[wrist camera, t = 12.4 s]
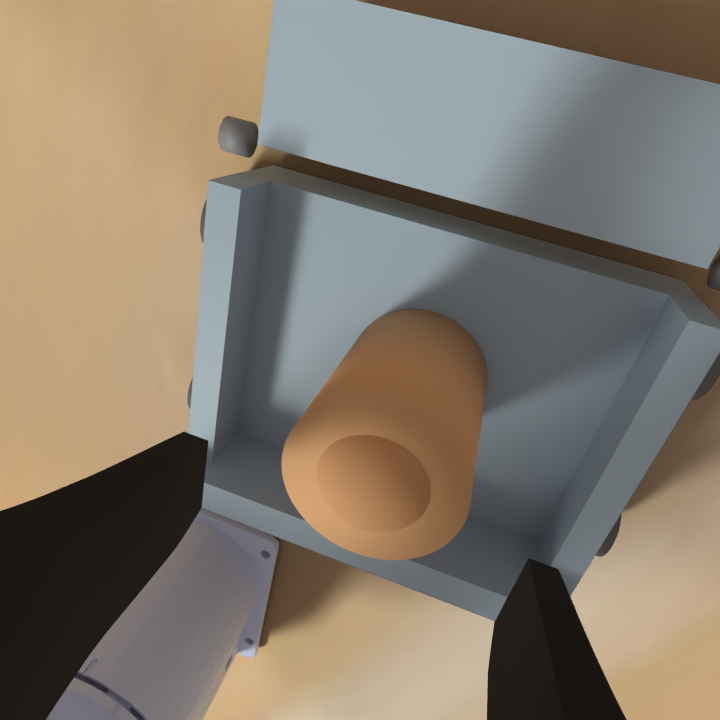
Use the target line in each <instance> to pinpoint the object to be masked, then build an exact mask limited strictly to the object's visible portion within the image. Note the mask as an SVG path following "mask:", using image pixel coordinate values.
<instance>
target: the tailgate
mask: <svg viewBox="0 0 720 720" xmlns="http://www.w3.org/2000/svg"><path fill="white" fill-rule="evenodd" d="M257 145H261V146H264V147H268V148H272V149H275V150H279V151H282V152H286V153H290V154H293V155H297V156H300V157H304V158H308V159H311V160H315V161H318V162H322V163H326V164H329V165H333V166H336V167H340V168H344V169H347V170H351V171H355V172H358V173H362V174H365V175H369V176H373V177H376V178H380V179H383V180H387V181H391V182H394V183H398V184H401V185H405V186H409V187H412V188H416V189H419V190H423V191H427V192H430V193H434V194H438V195H441V196H445V197H448V198H452V199H456V200H459V201H463V202H466V203H470V204H474V205H477V206H481V207H484V208H488V209H492V210H495V211H499V212H502V213H506V214H510V215H513V216H517V217H521V218H524V219H528V220H531V221H535V222H539V223H542V224H546V225H549V226H553V227H557V228H560V229H564V230H567V231H571V232H575V233H578V234H582V235H585V236H589V237H593V238H596V239H600V240H603V241H607V242H611V243H614V244H618V245H622V246H625V247H629V248H632V249H636V250H640V251H643V252H647V253H650V254H654V255H658V256H661V257H665V258H668V259H672V260H676V261H679V262H683V263H686V264H690V265H694V266H697V267H701V268H705V269H708V267H709V266H710V264H711V262H712V260H713V258H714V256H715V255H716V253H717V251H718V249H719V247H720V84H717V83H712V82H708V81H704V80H699V79H695V78H691V77H686V76H682V75H678V74H673V73H669V72H665V71H660V70H656V69H652V68H647V67H643V66H639V65H634V64H630V63H625V62H621V61H617V60H612V59H608V58H604V57H599V56H595V55H591V54H586V53H582V52H578V51H573V50H569V49H565V48H560V47H556V46H552V45H547V44H543V43H539V42H534V41H530V40H525V39H521V38H517V37H512V36H508V35H504V34H499V33H495V32H491V31H486V30H482V29H478V28H473V27H469V26H465V25H460V24H456V23H452V22H447V21H443V20H439V19H434V18H430V17H425V16H421V15H417V14H412V13H408V12H404V11H399V10H395V9H391V8H386V7H382V6H378V5H373V4H369V3H365V2H360V1H356V0H274V5H273V14H272V22H271V31H270V39H269V48H268V57H267V65H266V74H265V83H264V91H263V100H262V108H261V117H260V126H259V134H258V143H257Z"/></svg>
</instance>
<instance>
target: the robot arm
mask: <svg viewBox="0 0 720 720" xmlns="http://www.w3.org/2000/svg"><path fill="white" fill-rule="evenodd" d="M207 450H208V440H205V439H203V438H200V437H197V436H194V435H192V434H189V433H186V432H182V433H180V434H178V435H176V436H174V437H172V438H169V439H167V440H165V441H163V442H161V443H159V444H157V445H155V446H153V447H151V448H149V449H147V450H145V451H143V452H141V453H138V454H136V455H134V456H132V457H130V458H128V459H126V460H124V461H122V462H120V463H118V464H115V465H113V466H111V467H109V468H107V469H105V470H102V471H100V472H98V473H96V474H94V475H92V476H89V477H87V478H85V479H82V480H80V481H77V482H75V483H73V484H70V485H68V486H66V487H63V488H61V489H58V490H56V491H54V492H51V493H49V494H46V495H44V496H41V497H39V498H36V499H33V500H31V501H28V502H25V503H23V504H20V505H17V506H14V507H11V508H8V509H5V510H2V511H0V720H202V719H203V718H204V716H205V714H206V712H207V710H208V708H209V706H210V704H211V702H212V700H213V698H214V696H215V695H216V693H217V691H218V689H219V687H220V685H221V683H222V681H223V679H224V677H225V675H226V673H227V671H228V670H229V668H230V666H231V664H232V662H233V660H234V658H235V656H236V654H237V653H239V654H241V655H243V656H246V657H249V658H252V657H254V656H255V655H256V653H257V651H258V647H259V642H260V637H261V632H262V627H263V623H264V618H265V613H266V608H267V603H268V598H269V593H270V588H271V583H272V579H273V574H274V569H275V564H276V559H277V554H278V549H279V542H278V540H277V539H276V538H275V537H273V536H271V535H269V534H266V533H264V532H261V531H258V530H256V529H253V528H251V527H248V526H245V525H243V524H240V523H238V522H235V521H233V520H230V519H227V518H225V517H222V516H220V515H217V514H214V513H212V512H209V511H207V510H204V509H201V508H202V499H203V489H204V480H205V470H206V460H207ZM266 551H267V552H266ZM268 552H269V553H268ZM487 720H626V718H625V716H624V714H623V712H622V710H621V708H620V706H619V704H618V702H617V700H616V698H615V696H614V694H613V692H612V690H611V688H610V686H609V684H608V681H607V679H606V677H605V675H604V673H603V671H602V669H601V666H600V664H599V662H598V660H597V658H596V656H595V654H594V651H593V649H592V647H591V645H590V642H589V640H588V638H587V635H586V633H585V631H584V628H583V626H582V624H581V621H580V619H579V617H578V614H577V612H576V610H575V607H574V605H573V602H572V600H571V597H570V595H569V593H568V590H567V588H566V585H565V583H564V580H563V578H562V576H561V573H560V571H559V569H557V568H554V567H551V566H549V565H546V564H543V563H541V562H538V561H535V560H532V559H530V558H528V560H527V562H526V564H525V565H524V567H523V569H522V571H521V573H520V575H519V577H518V579H517V581H516V582H515V584H514V586H513V588H512V590H511V592H510V594H509V596H508V597H507V599H506V601H505V603H504V605H503V607H502V609H501V611H500V613H499V614H498V616H497V618H496V620H495V623H494V630H493V637H492V645H491V652H490V660H489V669H488V699H487Z"/></svg>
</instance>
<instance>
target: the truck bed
mask: <svg viewBox="0 0 720 720" xmlns="http://www.w3.org/2000/svg"><path fill="white" fill-rule="evenodd" d="M218 139H219V145H220V148H221V149H222V150H223V151H226V152H230V153H233V154H237V155H241V156H244V157H248V158H249V157H251V156H252V155H253V154H254V152H255V150H256V147H257V143H258V128H257V125H256V124H255V123H253V122H249V121H246V120H242V119H238V118H235V117H231V116H227V117H225V118H224V119H223V121H222V123H221V125H220V129H219V136H218ZM200 232H201V239H202V242H203V254H202V267H201V280H200V292H199V305H198V318H197V331H196V344H195V357H194V369H193V378H192V381H191V384H190V387H189V391H188V406H189V408H190V421H189V434H192V435H194V436H197V437H200V438H203V439H205V440H208V450H207V460H206V470H205V480H204V489H203V499H202V508H203V509H206V510H208V511H211V512H213V513H216V514H218V515H221V516H224V517H226V518H229V519H231V520H234V521H237V522H239V523H242V524H244V525H247V526H250V527H252V528H255V529H257V530H260V531H263V532H265V533H268V534H270V535H273V536H275V537H278V538H281V539H283V540H286V541H288V542H291V543H294V544H296V545H299V546H301V547H304V548H307V549H309V550H312V551H314V552H317V553H320V554H322V555H325V556H327V557H330V558H332V559H335V560H338V561H340V562H343V563H345V564H348V565H351V566H353V567H356V568H358V569H361V570H364V571H366V572H369V573H371V574H374V575H377V576H379V577H382V578H384V579H387V580H389V581H392V582H395V583H397V584H400V585H402V586H405V587H408V588H410V589H413V590H415V591H418V592H421V593H423V594H426V595H428V596H431V597H434V598H436V599H439V600H441V601H444V602H446V603H449V604H452V605H454V606H457V607H459V608H462V609H465V610H467V611H470V612H472V613H475V614H478V615H480V616H483V617H485V618H488V619H491V620H493V621H495V620H496V618H497V616H498V614H499V613H500V611H501V609H502V607H503V605H504V603H505V601H506V599H507V597H508V596H509V594H510V592H511V590H512V588H513V586H514V584H515V582H516V581H517V579H518V577H519V575H520V573H521V571H522V569H523V567H524V565H525V564H526V562H527V560H528V558H530V559H532V560H535V561H538V562H541V563H543V564H546V565H549V566H551V567H554V568H557V569H559V571H560V573H561V576H562V578H563V580H564V583H565V585H566V588H567V590H568V593H569V595H570V596H571V594H572V593H573V591H574V589H575V588H576V586H577V584H578V583H579V581H580V579H581V578H582V576H583V575H584V573H585V571H586V570H587V568H588V566H589V565H590V563H591V562H592V560H593V558H594V557H595V555H596V556H599V557H602V556H604V555H605V554H606V553H607V552H608V551H609V550H610V549H611V547H612V545H613V543H614V541H615V539H616V537H617V534H618V530H619V527H620V522H621V514H622V511H623V509H624V508H625V506H626V504H627V503H628V501H629V500H630V498H631V496H632V495H633V493H634V491H635V490H636V488H637V487H638V485H639V483H640V482H641V480H642V478H643V477H644V475H645V473H646V472H647V470H648V469H649V467H650V465H651V464H652V462H653V460H654V459H655V457H656V456H657V454H658V452H659V451H660V449H661V447H662V446H663V444H664V442H665V441H666V439H667V438H668V436H669V434H670V433H671V431H672V429H673V428H674V426H675V425H676V423H677V421H678V420H679V418H680V416H681V415H682V413H683V412H684V410H685V408H686V407H687V405H688V403H689V402H690V400H695V399H698V398H700V397H702V396H703V395H704V394H705V393H706V392H707V391H708V390H709V389H710V388H711V387H712V386H713V384H714V383H715V381H716V380H717V378H718V376H719V374H720V320H719V319H718V317H717V316H716V315H715V314H714V313H713V312H712V311H711V310H710V309H709V308H708V307H707V306H706V305H705V304H704V303H703V302H702V300H701V299H700V298H699V297H698V296H697V295H696V294H695V293H694V292H693V291H692V290H691V289H690V288H689V287H688V286H687V284H686V283H685V282H684V281H683V280H680V279H677V278H673V277H669V276H666V275H662V274H659V273H655V272H652V271H648V270H645V269H641V268H638V267H634V266H630V265H627V264H623V263H620V262H616V261H613V260H609V259H606V258H602V257H598V256H595V255H591V254H588V253H584V252H581V251H577V250H574V249H570V248H567V247H563V246H559V245H556V244H552V243H549V242H545V241H542V240H538V239H535V238H531V237H527V236H524V235H520V234H517V233H513V232H510V231H506V230H503V229H499V228H496V227H492V226H488V225H485V224H481V223H478V222H474V221H471V220H467V219H464V218H460V217H456V216H453V215H449V214H446V213H442V212H439V211H435V210H432V209H428V208H424V207H421V206H417V205H414V204H410V203H407V202H403V201H400V200H396V199H393V198H389V197H385V196H382V195H378V194H375V193H371V192H368V191H364V190H361V189H357V188H353V187H350V186H346V185H343V184H339V183H336V182H332V181H329V180H325V179H322V178H318V177H314V176H311V175H307V174H304V173H300V172H297V171H293V170H290V169H286V168H282V167H279V166H275V165H272V166H268V167H263V168H259V169H255V170H250V171H246V172H242V173H237V174H233V175H229V176H224V177H220V178H216V179H211V180H208V190H207V200H206V202H205V205H204V208H203V211H202V216H201V224H200ZM707 285H708V287H709V288H713V289H716V290H720V255H719V256H718V257H717V259H716V260H715V261H714V263H713V265H712V267H711V269H710V271H709V274H708V278H707ZM405 309H421V310H428V311H432V312H436V313H439V314H442V315H444V316H446V317H448V318H450V319H452V320H454V321H455V322H457V323H458V324H460V325H461V326H462V327H463V328H464V329H466V330H467V331H468V332H469V333H470V335H471V336H472V337H473V338H474V339H475V341H476V342H477V344H478V345H479V347H480V349H481V351H482V353H483V356H484V359H485V362H486V367H487V386H486V394H485V401H484V408H483V416H482V423H481V430H480V438H479V445H478V452H477V459H476V467H475V474H474V481H473V489H472V496H471V503H470V509H469V513H468V516H467V519H466V521H465V523H464V525H463V527H462V528H461V530H460V531H459V532H458V534H457V535H456V536H455V537H454V538H453V539H452V540H451V541H450V542H449V543H447V544H446V545H445V546H443V547H442V548H440V549H438V550H436V551H434V552H433V553H430V554H427V555H425V556H422V557H417V558H413V559H405V560H384V559H376V558H371V557H367V556H363V555H360V554H357V553H353V552H351V551H349V550H346V549H344V548H342V547H340V546H338V545H336V544H335V543H333V542H331V541H330V540H328V539H327V538H325V537H324V536H322V535H321V534H320V533H319V532H317V531H316V530H315V529H314V528H313V527H312V526H311V525H310V524H309V523H308V522H307V521H306V520H305V519H304V518H303V517H302V516H301V514H300V513H299V512H298V510H297V509H296V507H295V506H294V504H293V503H292V501H291V499H290V497H289V495H288V493H287V490H286V487H285V484H284V480H283V475H282V465H281V462H282V452H283V448H284V444H285V442H286V440H287V437H288V435H289V433H290V432H291V430H292V429H293V427H294V426H295V424H296V423H297V422H298V420H299V419H300V418H301V416H302V415H303V413H304V412H305V411H306V409H307V408H308V406H309V405H310V404H311V402H312V401H313V400H314V398H315V397H316V395H317V394H318V393H319V391H320V390H321V388H322V387H323V386H324V384H325V383H326V382H327V380H328V379H329V377H330V376H331V375H332V373H333V372H334V371H335V369H336V368H337V366H338V365H339V364H340V362H341V361H342V359H343V358H344V357H345V355H346V354H347V353H348V351H349V350H350V348H351V347H352V346H353V344H354V343H355V341H356V340H357V339H358V337H359V336H360V335H361V333H362V332H363V331H364V330H365V329H366V327H367V326H369V325H370V324H371V323H372V322H373V321H375V320H376V319H378V318H380V317H381V316H384V315H386V314H388V313H391V312H394V311H398V310H405Z"/></svg>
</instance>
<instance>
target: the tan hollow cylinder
mask: <svg viewBox="0 0 720 720" xmlns="http://www.w3.org/2000/svg"><path fill="white" fill-rule="evenodd" d="M486 386H487V367H486V362H485V359H484V356H483V353H482V351H481V349H480V347H479V345H478V344H477V342H476V341H475V339H474V338H473V337H472V336H471V335H470V333H469V332H468V331H467V330H466V329H464V328H463V327H462V326H461V325H460V324H458V323H457V322H455V321H454V320H452V319H450V318H448V317H446V316H444V315H442V314H439V313H436V312H432V311H428V310H421V309H405V310H398V311H394V312H391V313H388V314H386V315H384V316H381V317H380V318H378V319H376V320H375V321H373V322H372V323H371V324H370V325H369V326H367V327H366V329H365V330H364V331H363V332H362V333H361V335H360V336H359V337H358V339H357V340H356V341H355V343H354V344H353V346H352V347H351V348H350V350H349V351H348V353H347V354H346V355H345V357H344V358H343V359H342V361H341V362H340V364H339V365H338V366H337V368H336V369H335V371H334V372H333V373H332V375H331V376H330V377H329V379H328V380H327V382H326V383H325V384H324V386H323V387H322V388H321V390H320V391H319V393H318V394H317V395H316V397H315V398H314V400H313V401H312V402H311V404H310V405H309V406H308V408H307V409H306V411H305V412H304V413H303V415H302V416H301V418H300V419H299V420H298V422H297V423H296V424H295V426H294V427H293V429H292V430H291V432H290V433H289V435H288V437H287V440H286V442H285V444H284V448H283V452H282V462H281V465H282V475H283V480H284V484H285V487H286V490H287V493H288V495H289V497H290V499H291V501H292V503H293V504H294V506H295V507H296V509H297V510H298V512H299V513H300V514H301V516H302V517H303V518H304V519H305V520H306V521H307V522H308V523H309V524H310V525H311V526H312V527H313V528H314V529H315V530H316V531H317V532H319V533H320V534H321V535H322V536H324V537H325V538H327V539H328V540H330V541H331V542H333V543H335V544H336V545H338V546H340V547H342V548H344V549H346V550H349V551H351V552H353V553H357V554H360V555H363V556H367V557H371V558H376V559H384V560H405V559H413V558H417V557H422V556H425V555H427V554H430V553H433V552H434V551H436V550H438V549H440V548H442V547H443V546H445V545H446V544H447V543H449V542H450V541H451V540H452V539H453V538H454V537H455V536H456V535H457V534H458V532H459V531H460V530H461V528H462V527H463V525H464V523H465V521H466V519H467V516H468V513H469V509H470V503H471V496H472V489H473V481H474V474H475V467H476V459H477V452H478V445H479V438H480V430H481V423H482V416H483V408H484V401H485V394H486Z"/></svg>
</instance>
